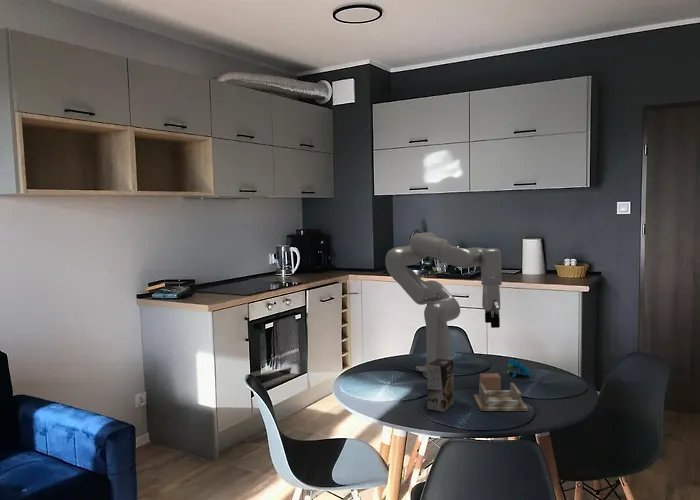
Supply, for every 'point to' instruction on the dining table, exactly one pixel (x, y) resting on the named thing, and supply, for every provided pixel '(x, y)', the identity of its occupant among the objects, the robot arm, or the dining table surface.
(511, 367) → the toy dinosaur
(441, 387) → the coffee box
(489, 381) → the brown block
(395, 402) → the dining table surface
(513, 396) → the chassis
